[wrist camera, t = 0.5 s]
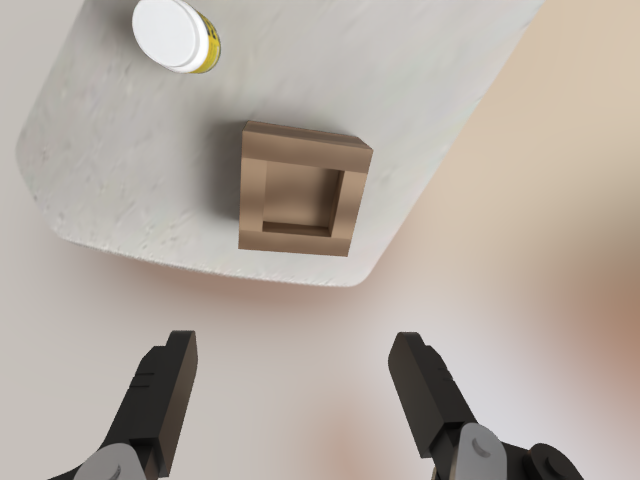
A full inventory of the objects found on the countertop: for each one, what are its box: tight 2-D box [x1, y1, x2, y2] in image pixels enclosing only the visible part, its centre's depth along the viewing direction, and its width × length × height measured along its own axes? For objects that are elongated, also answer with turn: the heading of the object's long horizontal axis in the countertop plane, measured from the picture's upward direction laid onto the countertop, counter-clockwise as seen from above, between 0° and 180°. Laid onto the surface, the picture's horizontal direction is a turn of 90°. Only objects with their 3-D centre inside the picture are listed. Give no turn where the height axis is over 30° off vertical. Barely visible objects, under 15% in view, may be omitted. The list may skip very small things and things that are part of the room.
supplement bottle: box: [132, 0, 221, 73], centre depth 23 cm, size 5×5×8 cm
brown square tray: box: [238, 121, 373, 257], centre depth 32 cm, size 12×12×6 cm
